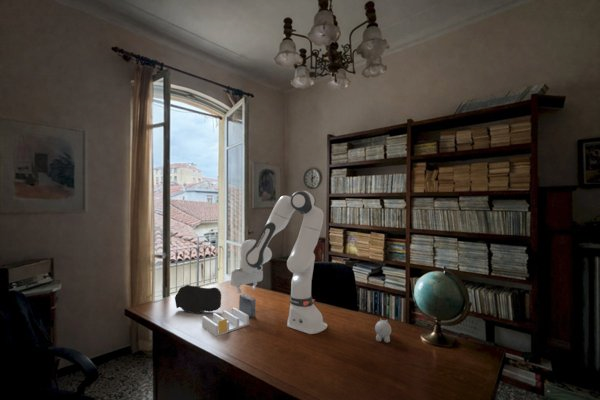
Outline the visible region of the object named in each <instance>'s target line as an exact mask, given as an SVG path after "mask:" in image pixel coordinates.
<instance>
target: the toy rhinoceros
mask: <svg viewBox="0 0 600 400" xmlns="http://www.w3.org/2000/svg"><path fill="white" fill-rule="evenodd" d="M374 331H375V333H376V336H375V340H376V341H377V342H382V341H384V343H387V344H388V343H390V342H391V337H390V335H391V333H392V327H391V324H389V322H388V319H386V320H385V319H382V318H380V320H379V321H377V322H376V324H375V326H374Z"/></svg>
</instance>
